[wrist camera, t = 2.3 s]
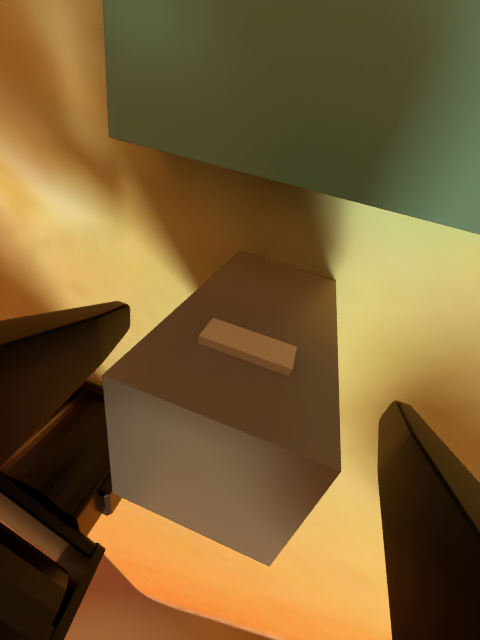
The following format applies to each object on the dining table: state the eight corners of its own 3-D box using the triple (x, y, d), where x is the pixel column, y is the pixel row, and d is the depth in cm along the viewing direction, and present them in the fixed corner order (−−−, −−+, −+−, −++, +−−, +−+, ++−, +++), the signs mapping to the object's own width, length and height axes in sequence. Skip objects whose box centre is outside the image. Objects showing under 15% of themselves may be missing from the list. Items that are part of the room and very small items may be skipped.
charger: (223, 329, 13) (112, 493, 7) (240, 246, 11) (101, 366, 4) (302, 357, 13) (269, 566, 6) (337, 275, 11) (346, 463, 4)
